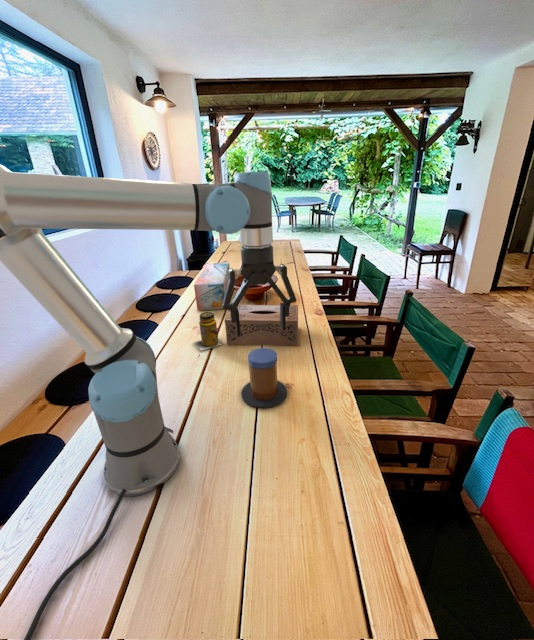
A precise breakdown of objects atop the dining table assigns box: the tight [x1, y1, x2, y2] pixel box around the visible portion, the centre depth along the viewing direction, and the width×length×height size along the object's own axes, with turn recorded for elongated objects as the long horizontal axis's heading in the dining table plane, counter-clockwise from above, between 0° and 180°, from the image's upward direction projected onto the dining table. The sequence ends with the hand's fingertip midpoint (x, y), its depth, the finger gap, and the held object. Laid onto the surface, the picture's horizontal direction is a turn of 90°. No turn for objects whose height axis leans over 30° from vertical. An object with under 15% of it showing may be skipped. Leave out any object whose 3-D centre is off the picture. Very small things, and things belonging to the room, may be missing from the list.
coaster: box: [240, 380, 288, 410], centre depth 91 cm, size 13×13×1 cm
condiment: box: [193, 311, 223, 352], centre depth 117 cm, size 7×8×12 cm
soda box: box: [193, 261, 231, 311], centre depth 164 cm, size 41×14×13 cm, turn 3°
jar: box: [248, 362, 278, 400], centre depth 89 cm, size 8×8×12 cm
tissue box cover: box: [224, 304, 299, 347], centre depth 122 cm, size 26×14×10 cm, turn 84°
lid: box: [247, 347, 279, 369], centre depth 87 cm, size 8×8×2 cm
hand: (261, 330), depth 83 cm, fingers open, 11 cm apart
